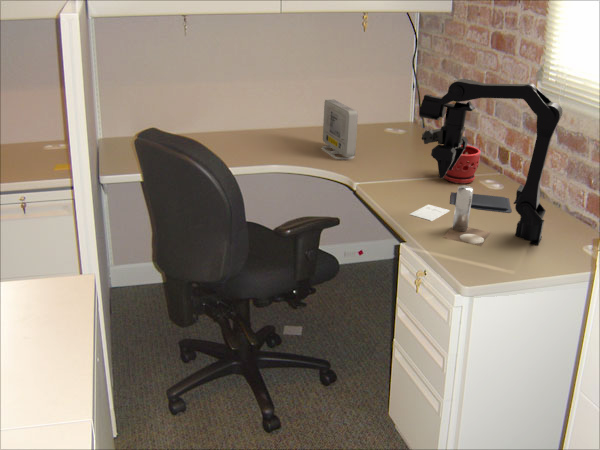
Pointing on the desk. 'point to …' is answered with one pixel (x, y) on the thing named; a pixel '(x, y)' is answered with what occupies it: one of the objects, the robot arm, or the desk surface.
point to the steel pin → (462, 208)
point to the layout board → (468, 236)
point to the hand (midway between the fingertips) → (445, 174)
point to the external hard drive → (429, 212)
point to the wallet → (486, 202)
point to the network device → (339, 129)
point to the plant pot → (465, 166)
